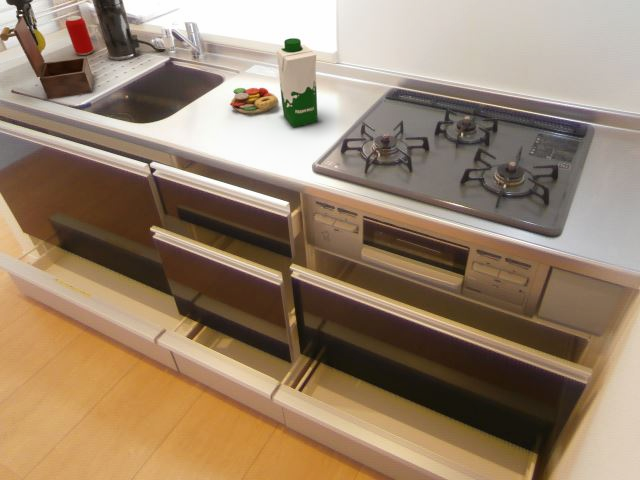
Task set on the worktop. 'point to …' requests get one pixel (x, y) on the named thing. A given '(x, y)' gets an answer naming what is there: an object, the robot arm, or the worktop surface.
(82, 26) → the beverage can
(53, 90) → the chest
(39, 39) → the lemon
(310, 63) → the soya milk
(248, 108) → the toy food set
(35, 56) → the lid
